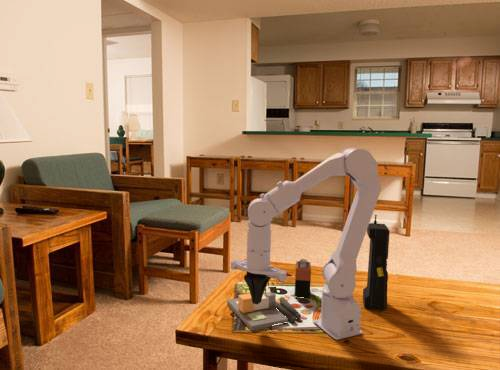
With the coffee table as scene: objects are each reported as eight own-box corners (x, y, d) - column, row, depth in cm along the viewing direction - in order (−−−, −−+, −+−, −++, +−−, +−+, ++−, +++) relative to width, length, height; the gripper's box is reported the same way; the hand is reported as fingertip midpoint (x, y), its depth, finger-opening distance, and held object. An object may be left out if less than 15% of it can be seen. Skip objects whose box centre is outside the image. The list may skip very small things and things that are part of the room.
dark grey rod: (297, 323, 99) (297, 317, 98) (292, 324, 98) (292, 318, 98) (268, 298, 113) (268, 293, 112) (263, 299, 112) (263, 294, 112)
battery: (309, 290, 119) (310, 258, 118) (309, 299, 113) (311, 266, 111) (294, 289, 120) (296, 257, 119) (294, 298, 113) (295, 265, 112)
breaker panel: (291, 322, 99) (291, 317, 99) (251, 330, 94) (251, 325, 94) (262, 298, 113) (262, 293, 113) (227, 304, 109) (227, 298, 108)
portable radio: (388, 312, 106) (394, 221, 102) (364, 310, 107) (370, 220, 104) (384, 300, 113) (390, 215, 110) (362, 298, 114) (368, 214, 111)
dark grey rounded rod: (301, 320, 100) (302, 314, 100) (296, 321, 100) (296, 315, 100) (283, 301, 111) (283, 296, 111) (278, 302, 111) (278, 296, 110)
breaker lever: (277, 306, 104) (277, 293, 104) (242, 313, 100) (243, 299, 100) (272, 302, 107) (272, 289, 106) (238, 308, 103) (238, 295, 102)
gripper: (293, 250, 95) (290, 303, 96) (242, 240, 102) (240, 290, 104) (279, 257, 89) (277, 314, 90) (226, 246, 96) (225, 299, 98)
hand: (256, 302), depth 97 cm, fingers closed
